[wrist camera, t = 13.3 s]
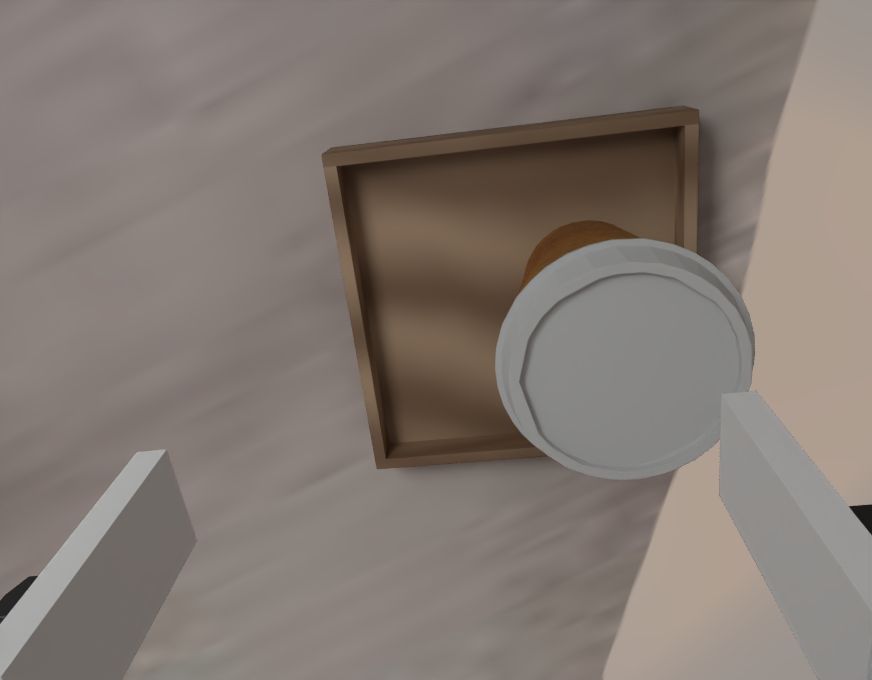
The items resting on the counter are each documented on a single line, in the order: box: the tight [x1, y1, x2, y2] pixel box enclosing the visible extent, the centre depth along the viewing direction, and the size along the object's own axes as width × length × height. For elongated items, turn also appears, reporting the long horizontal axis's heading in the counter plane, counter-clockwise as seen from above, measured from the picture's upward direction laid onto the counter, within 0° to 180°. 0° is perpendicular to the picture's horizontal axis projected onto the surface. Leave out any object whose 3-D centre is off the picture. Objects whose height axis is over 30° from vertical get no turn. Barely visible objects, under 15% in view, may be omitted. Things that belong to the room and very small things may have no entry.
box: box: [322, 106, 699, 469], centre depth 37 cm, size 17×17×2 cm
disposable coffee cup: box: [495, 220, 755, 480], centre depth 31 cm, size 10×10×12 cm
